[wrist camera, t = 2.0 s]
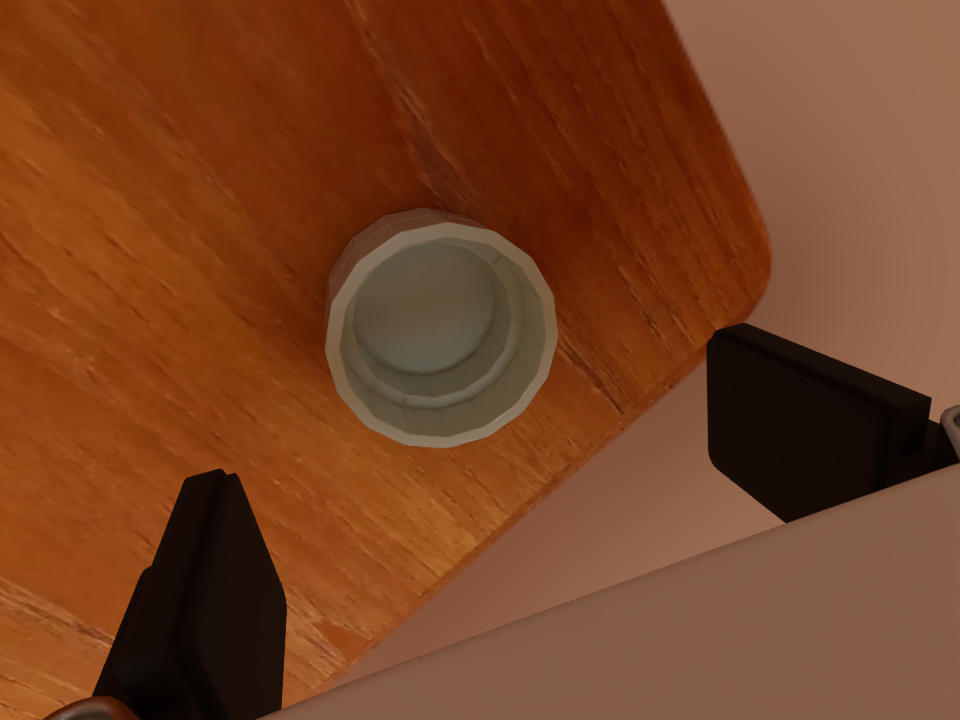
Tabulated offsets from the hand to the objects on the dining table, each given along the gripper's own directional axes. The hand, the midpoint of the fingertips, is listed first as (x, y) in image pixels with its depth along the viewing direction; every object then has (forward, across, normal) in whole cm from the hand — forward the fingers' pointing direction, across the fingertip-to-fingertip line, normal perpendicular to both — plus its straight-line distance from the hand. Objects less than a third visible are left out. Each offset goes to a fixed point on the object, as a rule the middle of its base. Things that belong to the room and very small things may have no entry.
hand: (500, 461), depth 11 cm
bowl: (+11, 0, 0) cm, 11 cm away
